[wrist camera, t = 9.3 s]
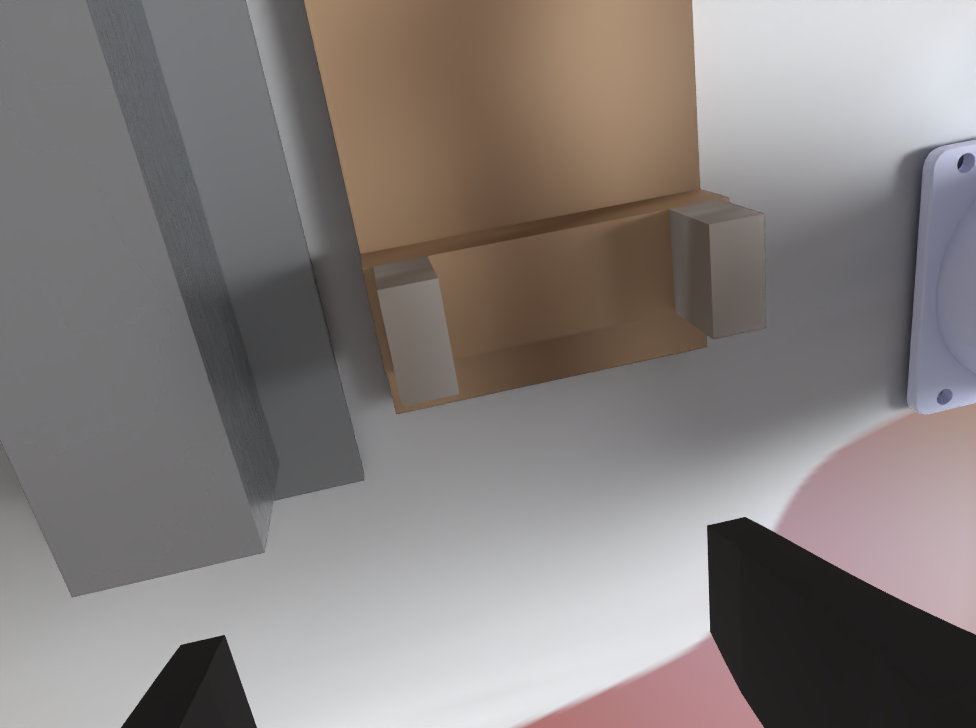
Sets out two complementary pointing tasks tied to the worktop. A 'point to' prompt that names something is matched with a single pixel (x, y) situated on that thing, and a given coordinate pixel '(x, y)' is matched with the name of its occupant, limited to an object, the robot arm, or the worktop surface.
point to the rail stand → (530, 189)
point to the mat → (257, 235)
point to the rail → (117, 312)
